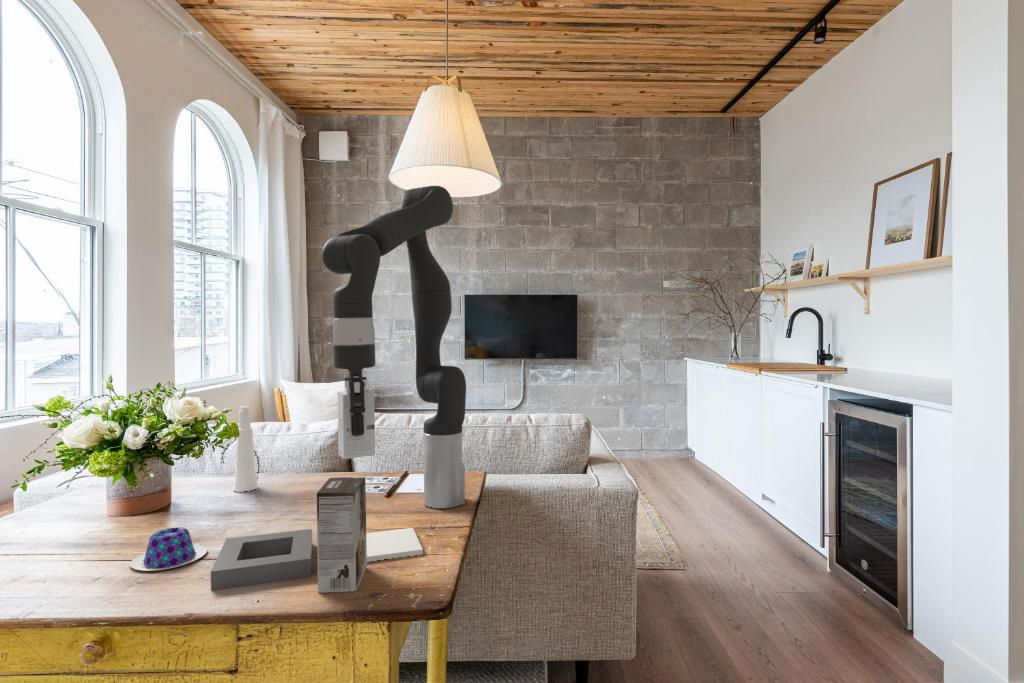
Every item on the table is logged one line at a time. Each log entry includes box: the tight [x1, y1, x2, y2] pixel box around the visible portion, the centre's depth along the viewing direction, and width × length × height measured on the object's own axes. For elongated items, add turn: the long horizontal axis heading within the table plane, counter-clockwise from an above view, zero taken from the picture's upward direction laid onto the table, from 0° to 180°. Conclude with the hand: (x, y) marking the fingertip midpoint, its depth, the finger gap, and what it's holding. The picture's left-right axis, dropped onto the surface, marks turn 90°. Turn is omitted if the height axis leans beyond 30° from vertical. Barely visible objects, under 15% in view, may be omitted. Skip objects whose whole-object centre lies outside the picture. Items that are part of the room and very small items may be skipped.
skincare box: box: [337, 389, 376, 460], centre depth 103 cm, size 6×4×12 cm
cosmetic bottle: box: [232, 405, 259, 493], centre depth 145 cm, size 6×6×22 cm
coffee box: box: [316, 476, 368, 594], centre depth 91 cm, size 9×6×16 cm
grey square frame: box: [210, 528, 313, 591], centre depth 97 cm, size 15×15×3 cm
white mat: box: [366, 527, 424, 563], centre depth 105 cm, size 12×12×1 cm
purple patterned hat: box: [129, 526, 208, 572], centre depth 100 cm, size 12×12×5 cm
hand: (357, 432), depth 103 cm, fingers closed on skincare box, 5 cm apart
